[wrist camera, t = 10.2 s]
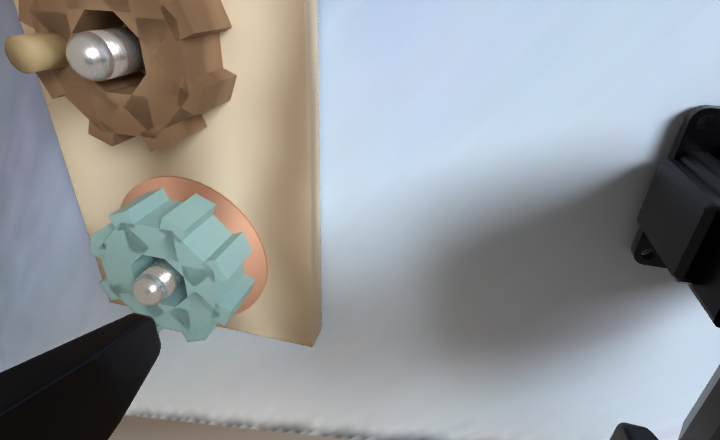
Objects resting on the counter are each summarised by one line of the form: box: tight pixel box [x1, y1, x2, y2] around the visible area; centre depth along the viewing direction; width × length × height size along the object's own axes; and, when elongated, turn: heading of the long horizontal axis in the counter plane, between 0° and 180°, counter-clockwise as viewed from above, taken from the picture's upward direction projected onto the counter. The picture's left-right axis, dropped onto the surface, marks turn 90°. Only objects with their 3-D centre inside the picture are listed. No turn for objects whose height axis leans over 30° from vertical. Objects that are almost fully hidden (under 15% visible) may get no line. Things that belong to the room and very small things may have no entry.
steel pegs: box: [65, 26, 185, 306], centre depth 18 cm, size 2×12×4 cm, turn 178°
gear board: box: [14, 0, 321, 347], centre depth 20 cm, size 13×20×2 cm, turn 178°
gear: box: [5, 0, 237, 152], centre depth 16 cm, size 7×7×4 cm
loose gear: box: [89, 188, 255, 342], centre depth 21 cm, size 7×7×2 cm
